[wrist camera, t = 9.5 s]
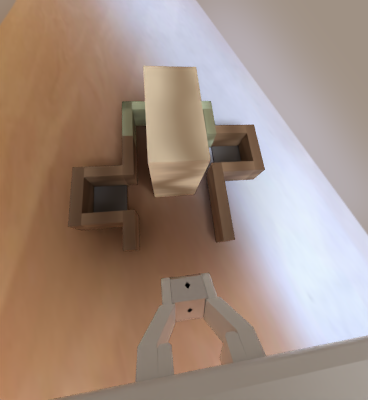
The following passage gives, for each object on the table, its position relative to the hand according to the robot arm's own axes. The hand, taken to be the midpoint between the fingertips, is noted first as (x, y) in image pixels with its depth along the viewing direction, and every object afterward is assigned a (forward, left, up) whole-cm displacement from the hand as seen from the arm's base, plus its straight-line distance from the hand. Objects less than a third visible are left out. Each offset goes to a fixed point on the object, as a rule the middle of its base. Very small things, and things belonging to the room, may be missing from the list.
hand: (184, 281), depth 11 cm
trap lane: (+1, +11, -10) cm, 15 cm away
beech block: (+1, +14, -10) cm, 17 cm away
